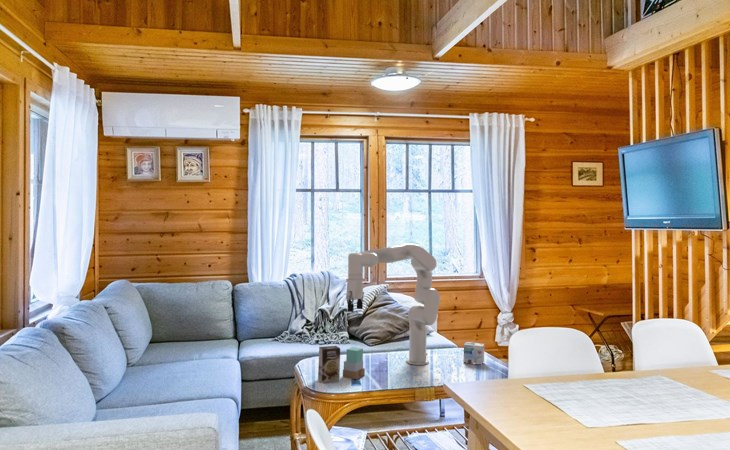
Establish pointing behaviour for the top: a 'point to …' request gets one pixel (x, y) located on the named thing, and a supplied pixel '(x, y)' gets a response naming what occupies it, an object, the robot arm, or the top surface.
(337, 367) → the coffee box
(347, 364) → the slate grey top block
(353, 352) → the teal cube
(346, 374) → the walnut base block
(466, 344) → the light bulb box
